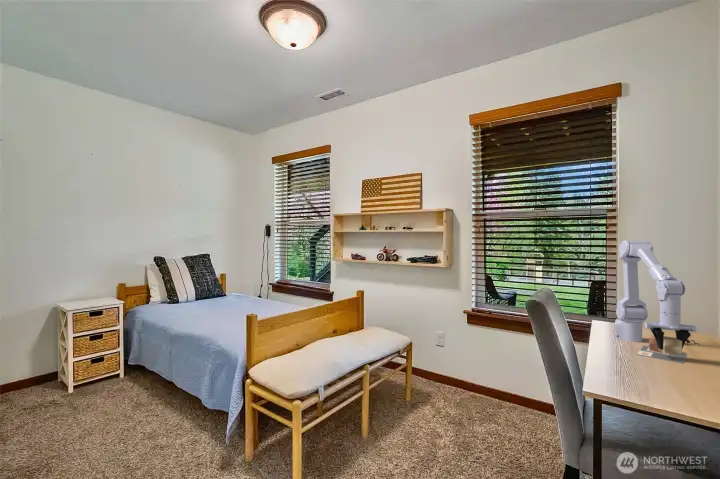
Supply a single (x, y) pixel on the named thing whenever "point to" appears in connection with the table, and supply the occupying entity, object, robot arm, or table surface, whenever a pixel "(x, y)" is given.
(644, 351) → the build board
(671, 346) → the maple block
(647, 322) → the robot arm
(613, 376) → the table surface
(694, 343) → the creature
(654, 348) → the rust block
